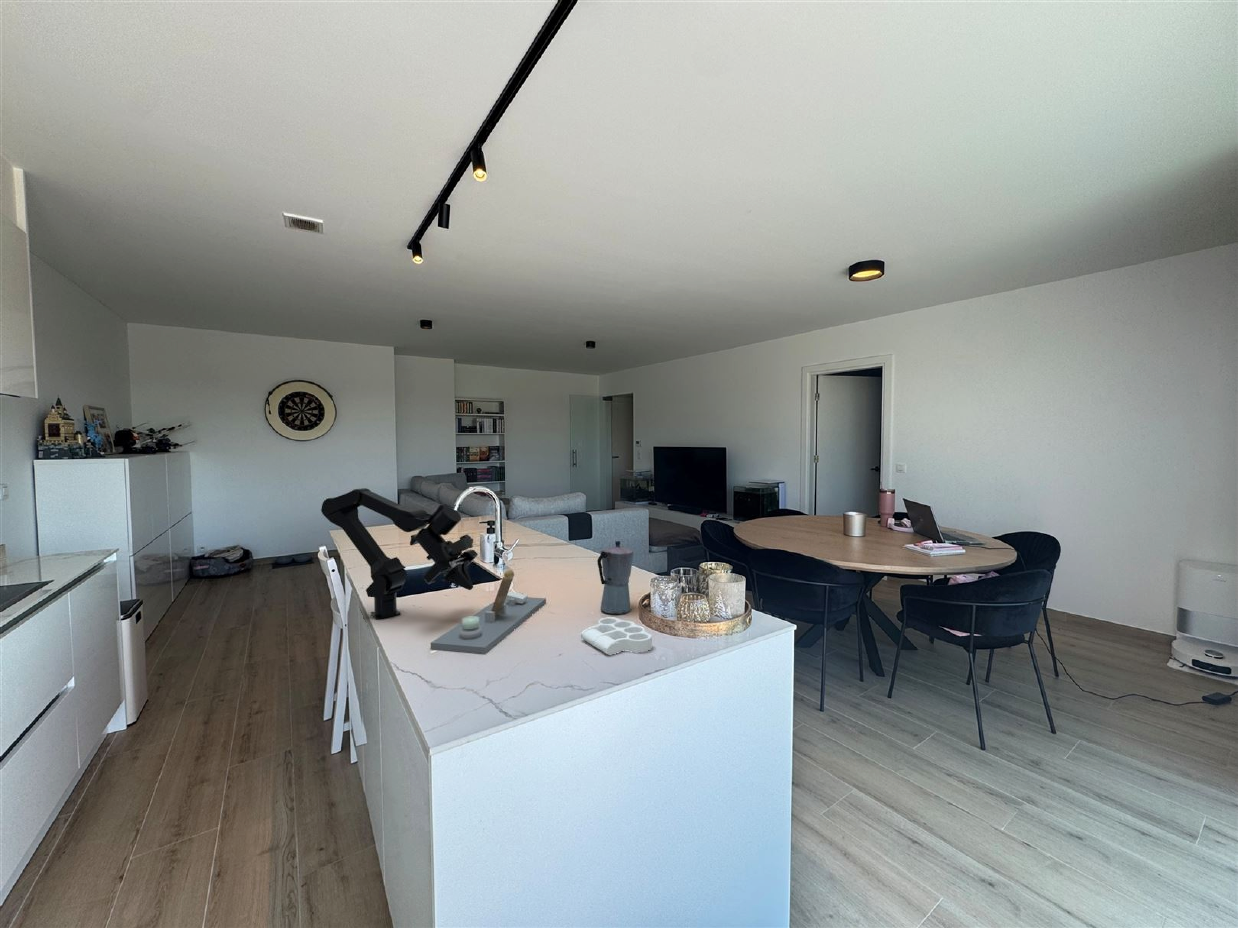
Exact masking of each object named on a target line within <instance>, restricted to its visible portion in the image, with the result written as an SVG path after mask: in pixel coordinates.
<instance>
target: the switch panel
mask: <svg viewBox="0 0 1238 928" xmlns="http://www.w3.org/2000/svg"><path fill="white" fill-rule="evenodd" d="M519 593H520V594H524V592H519ZM494 602H495V601H493V602H491V603H490V604H489V605H487V606H485V607H484V608H483V609H480V610H479V611H477V612H476V613H474V614H473V615H472V616H477V617H479V627H477V628H474V629H464V628H462V622H461V623H459V624H457V625H456V626H454V627H453V628H451V629H450V630H447V631H446V632H445V633H443V634H442V635H441V636H439V637H437V638H436V639H434V640H432V641H431V642H430V649H431V650H438V651H449V652H457V653H458V652H459V653H461V652H462V653H471V654H481V655H486V654H487V653H488V652H489V651H490V650H492V649H493V648H494V647H495V646H497V644H499V643H500V642H502V640H504V639H505V638H506V637H507V636H509V635H510V634H511V633H512V632H513V631H515V630H516V629H517V628H519V626H521V625H522V624H523V623H524V622H526V621H527V620H528V619H529V618H531V617H532V616H533V615H532V614H533V613H534V614H535V613H536V612H537V611H538V610H540V609H541V608H542V607H543V606H545V605H546V604H547V597H546V598H545V597H544V598H543V597H532V596H531V597H529V596H528V597H527V600H526V601H525V602H524V603H522V604H521V603H517V602H515V599H512V598H510V599H509V600H505V602H504V605H503V608H502V613H500V614H499V615H498V616H496V617H495V612H492V611H491V610H492V607H493V604H494ZM545 603H546V604H545ZM544 604H545V605H544ZM539 608H540V609H539ZM526 619H527V620H526ZM514 629H515V630H514Z"/></svg>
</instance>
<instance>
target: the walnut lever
mask: <svg viewBox="0 0 1238 928" xmlns="http://www.w3.org/2000/svg"><path fill="white" fill-rule="evenodd" d="M514 577H515V573H514V570H512V569H507V570H505V571H504V575H503V577H502V579H501V583H500V584H499V588H498V591H497V594H496V596H495V600H494V601H493V602H494V604H493V607H492V610H491V611H492V612H495V617H496V616H498V615H499V614H500V613H502V608H503V605H504V602H505V600H506V597H507V594H508V592H510V588H511V585H512V582H513V579H514Z"/></svg>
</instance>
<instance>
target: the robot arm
mask: <svg viewBox="0 0 1238 928" xmlns="http://www.w3.org/2000/svg"><path fill="white" fill-rule="evenodd" d="M361 506H362V507H364V508H367V509H369V510H371V511H372V512H374V513H377V514H379V515H381V516H384V517H386V518H387V519H390V520H391V521H392V523H393V524H394V526H395V527H397V528H399V529H400V530H402V531H403V532H405V533H411V532H415V531H418V532H416V534H412V535H410V542H409V545H410V546H415V545H417V544H419V546H420V547H421V548H422V549H423V550H424V552H425V553H426V554H427V556H426V559H427V560H428V561H431V560H432V561H433V562H434V563H433V564H432V565H431V566H430V568H428V569H427V570H426V571H425V572H424V574H423V580H424V582H426V584H428V585H431V584H432V583H433V584H434V583H435V582H436V581H437V580H436V579H437V576H439V575H442V574H443V576H444V577H442V579H441V581H442V582H444V581H445V582H447V583H451V584H454V585H456V586H459V587H460V588H463V589H466V590H468V591H471V590H473V589H474V584H473V582H472V579H471V577H470V574H469V571H468V566H469V565H470V564H472V562H473V561H474V560H475V559H476V558H477V557H478V555H479V553H478V552H476V550H475V549H471V548H473V547H474V545H473V543H474V539H473V538H472V537H471V535H469V534H464V535H462V536H460V537H459V539H458V540H456V541H454V542H452V540H447V541H446V539H444V537H443V536H447V535H449V534H450V532H451V531H452V530H454V529H455V527H456V526H457V525H458V524H459V523H460V522H461V521H462V516H461V514H460V513H459V511H457V510H455V509H453V508H452V507H449V506H448V505H446V503H443V504H439V506H438V507H437V508H436V510H435V511H434V512H433V513H432V514H431V513H428V512H427V511H426V510H424V508H423V509H422V508H418V507H414V506H405V505H401V504H399V503H396V502H395V501H392V500H391V499H388V498H386V497H384V496H382V495H380V494H378V493H376V492H373V491H371V489H369V488H365V487H363V488H356V489H353V490H351V491H348V492H347V493H343V494H342V495H338V496H336V497H335V496H334V497H329V498H325V500H323V501H322V503H321V509H320V511H321V513H322V515H323V516H324V517H325V519H326V520H328V521H329V522H330V523H331V524H333V525H335V526H337V527H339V528H341V529H342V530H343V532H345V534H346V536H347V537H348V539H350V541H351V542H352V544H353V546H354V547H355V548H356V549H357V551H358V552H359V553H360V555H361V556H362V557H363V559H364V560H365V561H366V563H367V564H368V566H369V568H370V569H369V570H370V578H371V581H372V582H371V583H370V585H369V586H367V588H366V589H365V592H366V594H367V597H368V598H373V601H374V602H373V605H374V611H371V612H370V615H371V614H372V615H371V616H372V617H373V618H374V619H375V620H382V619H385V618H391V617H396V616H401V611H399V610H398V609H397V608H398V607H397V606H398V605H397V592H398V591H400V590H403V587H404V585H405V582H406V581H407V576H408V573H407V571H406V566H404V564H403V563H402V562H401V560H400V559H399V558H398V557H397V556H394V557H393V558H390V557H388V556H387V555H386V553H385V552H384V550H382V548H381V547H380V546H379V544H378V543H377V541H376V540H375V539H374V538H373V536H372V534H371V533H370V532H369V530H368V529H367V528H366V527H365V525H364V524H363V523H362V521H361V520H360V519H359V507H361Z"/></svg>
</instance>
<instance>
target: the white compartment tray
mask: <svg viewBox="0 0 1238 928" xmlns="http://www.w3.org/2000/svg"><path fill="white" fill-rule="evenodd" d="M579 636H580V638H581V640H583V641H585V642H587V643H589V644H590V645H592V646H593V647H595V648H596V649H598V650H600V651H602V652H603V653H604V654H606V655H609V656H611V655H612V654H614V653H617V652H621V651H623V650H624V651H625V650H629V651H632V652H645V651H648V650H650V649H651V648H652V649H653V636H652V634H651V633H650V632H647V631H646V628H644V627H643V626H641V625H638V624H636V623H635V622H633V621H630V620H623V619H620V618H618V617H613V616H610V617H609V616H608V617H602V618H600V619H599V620H598V622H597V624H596V625H593V626H590V627H587V628H585V629H584V630H583V631H582V632H580V635H579ZM652 649H651V650H652ZM651 650H650V651H651ZM632 652H631V653H632ZM648 652H649V651H648ZM621 653H622V652H621ZM645 653H646V652H645ZM612 656H613V655H612Z"/></svg>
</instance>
